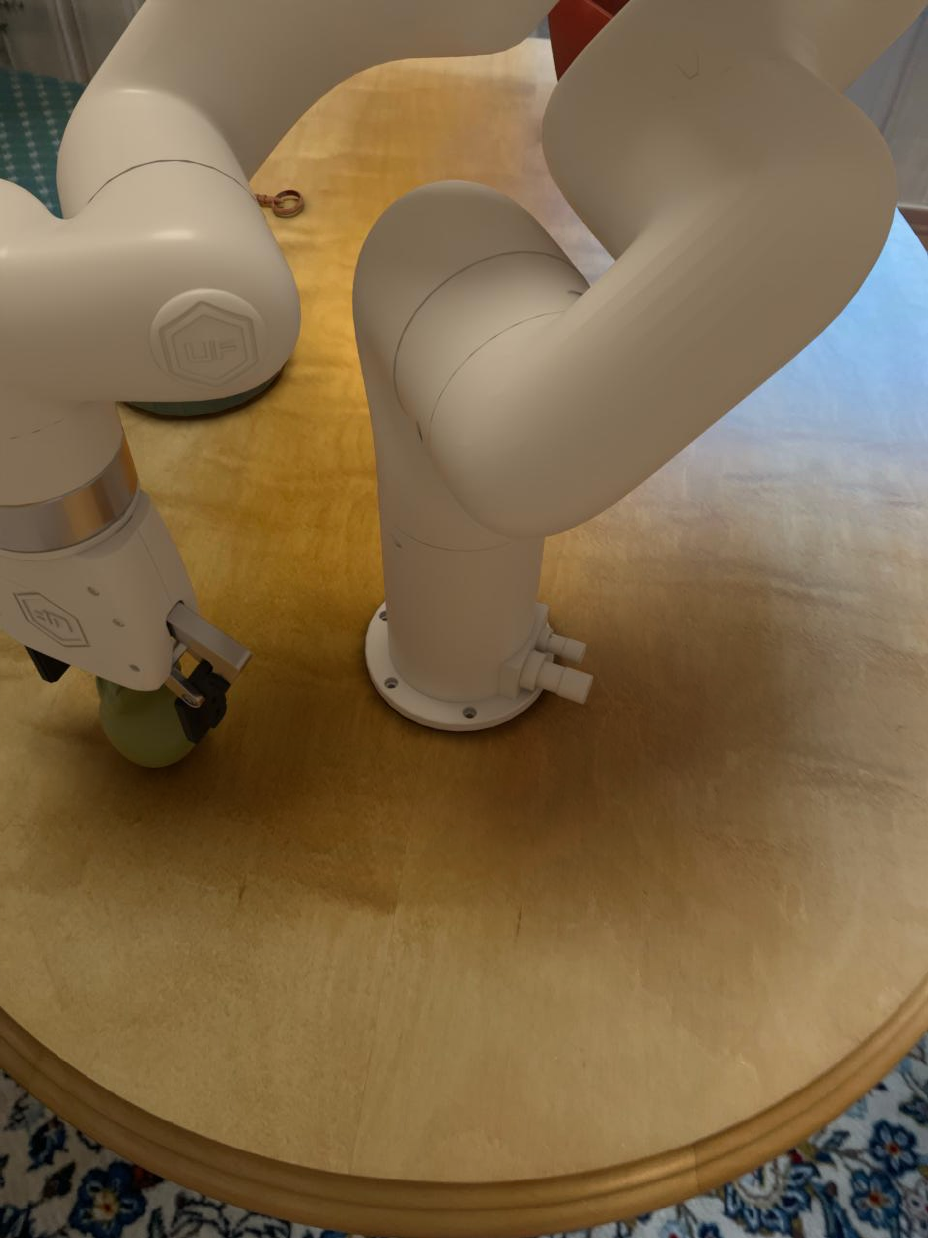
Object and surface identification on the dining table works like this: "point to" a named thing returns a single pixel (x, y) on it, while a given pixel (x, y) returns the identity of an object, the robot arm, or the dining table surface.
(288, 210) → the key
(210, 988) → the dining table surface
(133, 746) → the pear
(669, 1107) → the dining table surface
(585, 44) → the flower pot
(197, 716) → the robot arm
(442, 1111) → the dining table surface
